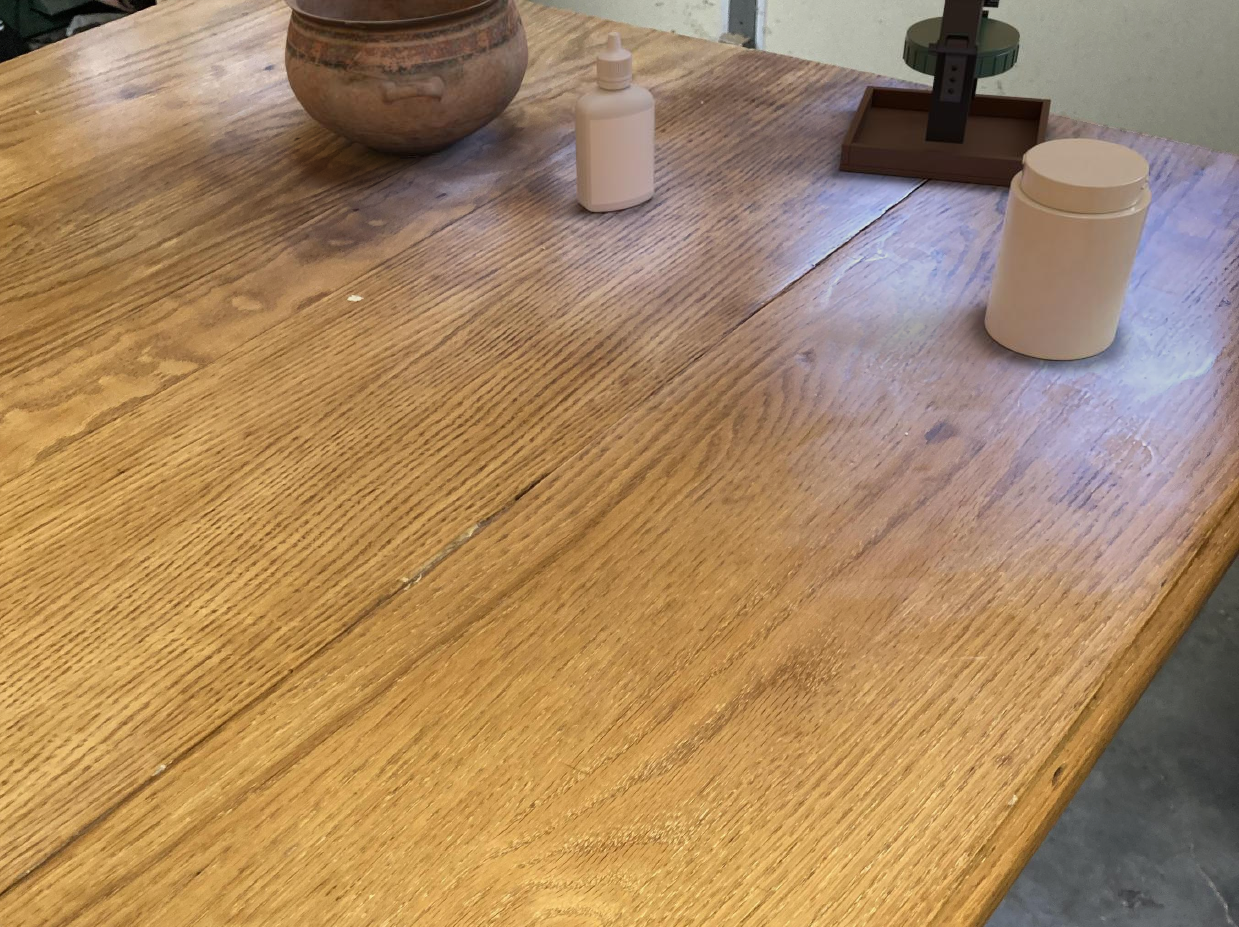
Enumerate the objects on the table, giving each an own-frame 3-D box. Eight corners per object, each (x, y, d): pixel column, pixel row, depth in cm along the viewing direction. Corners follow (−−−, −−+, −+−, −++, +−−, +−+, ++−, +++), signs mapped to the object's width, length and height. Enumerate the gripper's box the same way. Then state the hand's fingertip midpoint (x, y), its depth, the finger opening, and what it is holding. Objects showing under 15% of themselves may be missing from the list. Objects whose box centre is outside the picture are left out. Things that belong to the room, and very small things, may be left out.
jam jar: (1115, 305, 82) (1159, 140, 76) (1113, 368, 77) (1159, 196, 70) (989, 291, 85) (1020, 129, 78) (978, 351, 79) (1011, 183, 72)
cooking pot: (555, 192, 99) (547, 24, 91) (301, 220, 97) (271, 51, 89) (512, 75, 118) (502, -73, 110) (299, 96, 116) (274, -52, 108)
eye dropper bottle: (653, 213, 95) (654, 44, 87) (575, 214, 96) (570, 45, 88) (654, 187, 99) (656, 22, 91) (579, 188, 99) (574, 23, 91)
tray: (1046, 124, 104) (1051, 99, 103) (1036, 189, 95) (1042, 162, 94) (864, 109, 108) (867, 85, 107) (839, 170, 99) (842, 144, 98)
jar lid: (887, 71, 96) (890, 44, 95) (922, 35, 102) (925, 10, 100) (999, 86, 93) (1003, 58, 92) (1028, 48, 98) (1033, 22, 97)
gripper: (960, -257, 94) (917, 66, 109) (924, -195, 79) (880, 169, 94) (1071, -257, 92) (1012, 73, 107) (1056, -193, 77) (990, 179, 92)
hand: (950, 117), depth 100 cm, fingers closed on jar lid, 8 cm apart
